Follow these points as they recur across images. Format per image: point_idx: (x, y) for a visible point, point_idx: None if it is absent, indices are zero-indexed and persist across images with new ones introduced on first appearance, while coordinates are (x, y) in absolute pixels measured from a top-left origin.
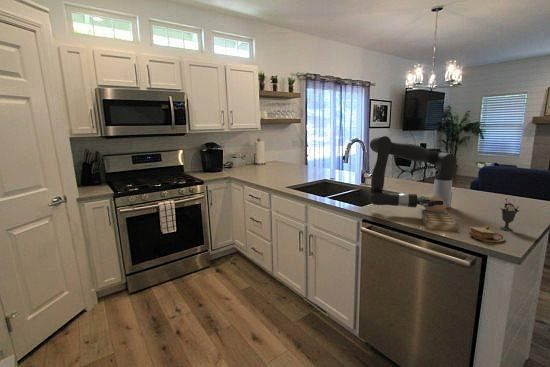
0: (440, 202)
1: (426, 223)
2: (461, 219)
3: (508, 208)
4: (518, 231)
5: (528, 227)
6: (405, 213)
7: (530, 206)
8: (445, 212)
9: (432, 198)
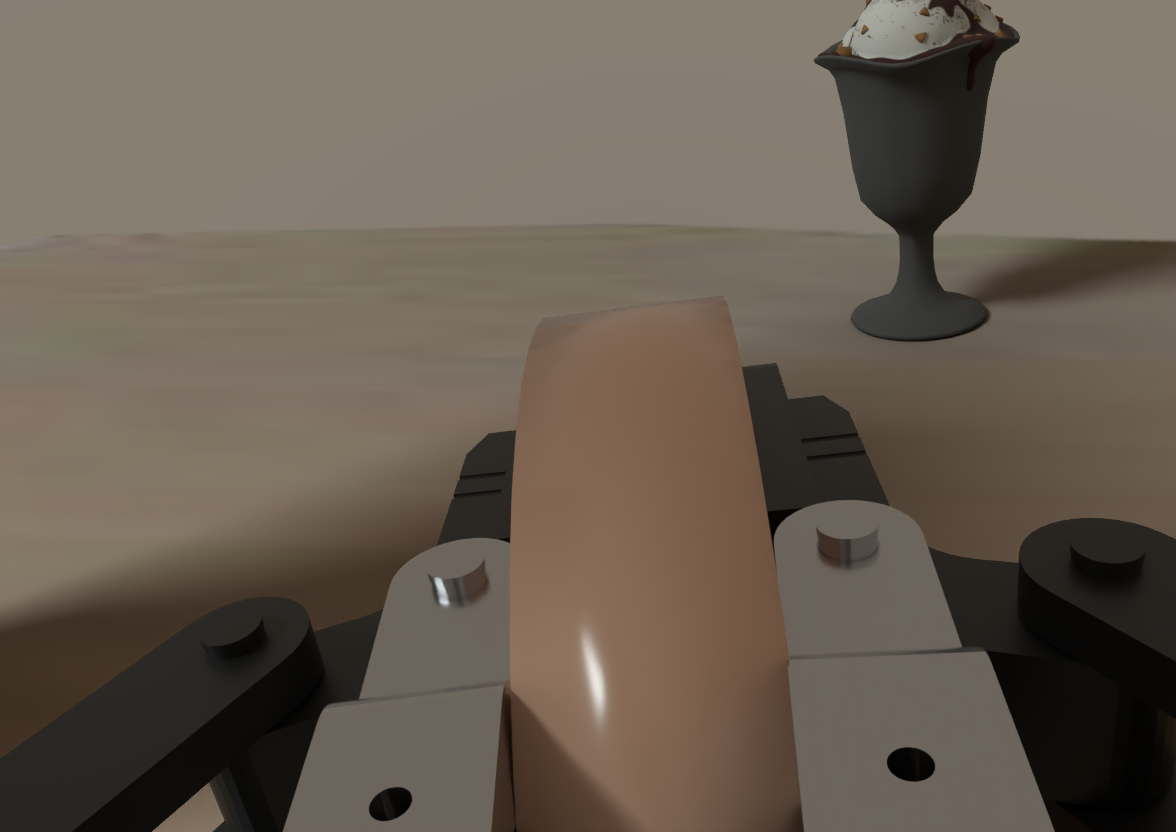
0: (852, 442)
1: None
2: None
3: (973, 8)
4: None
5: (742, 255)
6: None
7: (131, 259)
8: None
9: (757, 496)
